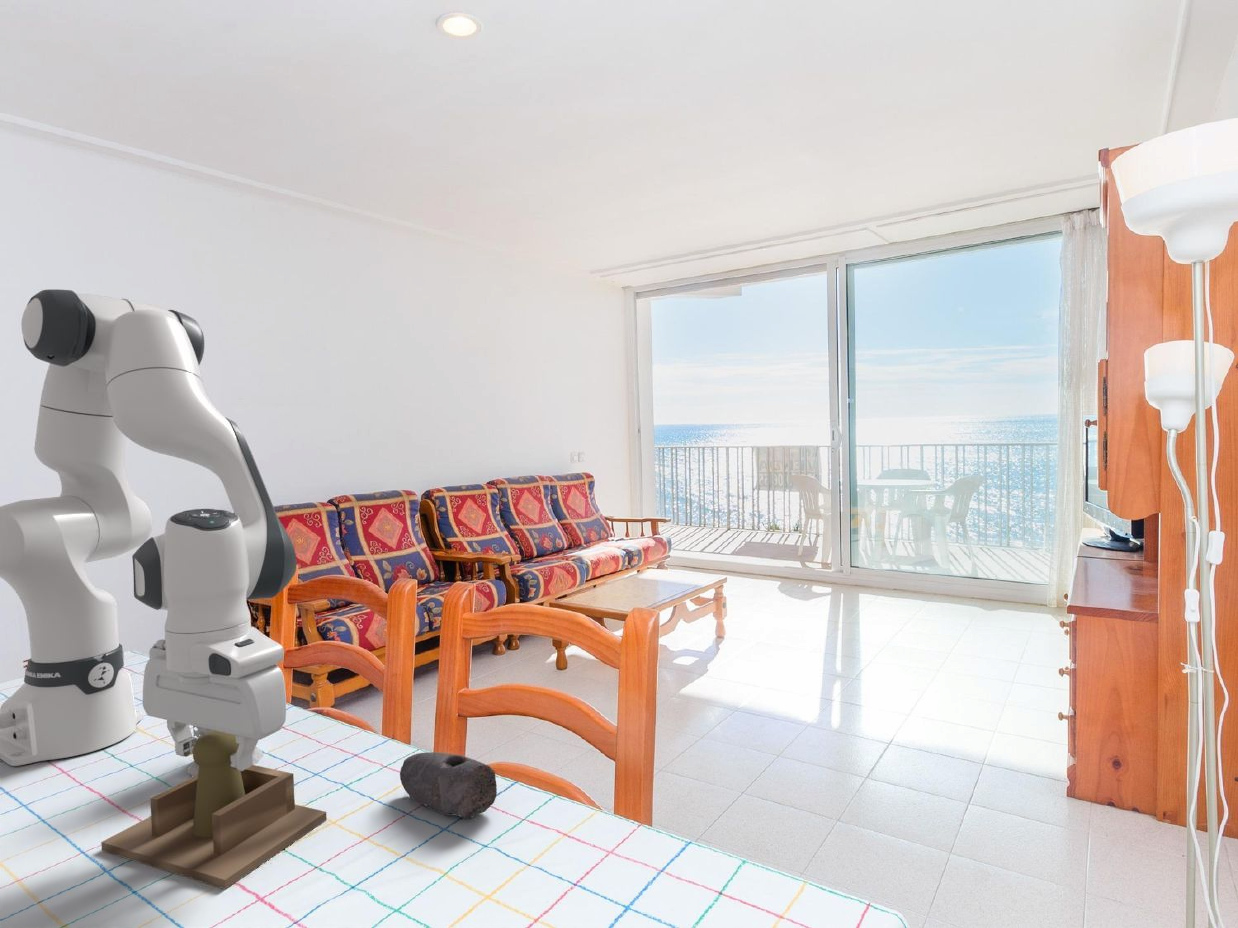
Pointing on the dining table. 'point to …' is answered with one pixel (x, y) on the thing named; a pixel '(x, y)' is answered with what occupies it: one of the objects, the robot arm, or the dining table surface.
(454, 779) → the perforated stone tool
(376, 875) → the dining table surface
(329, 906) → the dining table surface
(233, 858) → the u rest
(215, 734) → the cork
